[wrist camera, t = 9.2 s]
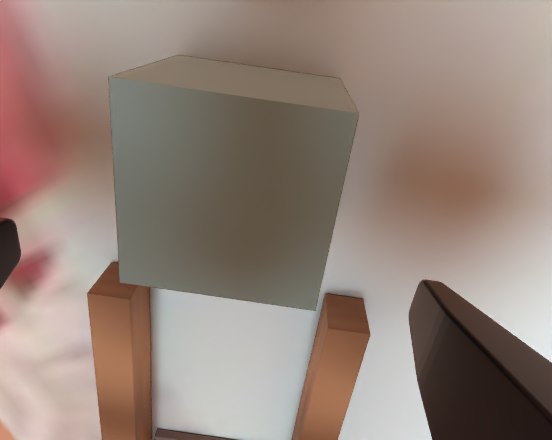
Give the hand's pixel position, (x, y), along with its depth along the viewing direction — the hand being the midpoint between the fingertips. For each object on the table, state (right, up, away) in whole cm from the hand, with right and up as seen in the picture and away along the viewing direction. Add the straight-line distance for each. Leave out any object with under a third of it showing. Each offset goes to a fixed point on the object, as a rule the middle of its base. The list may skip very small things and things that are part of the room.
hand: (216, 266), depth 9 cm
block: (0, +4, +5) cm, 6 cm away
